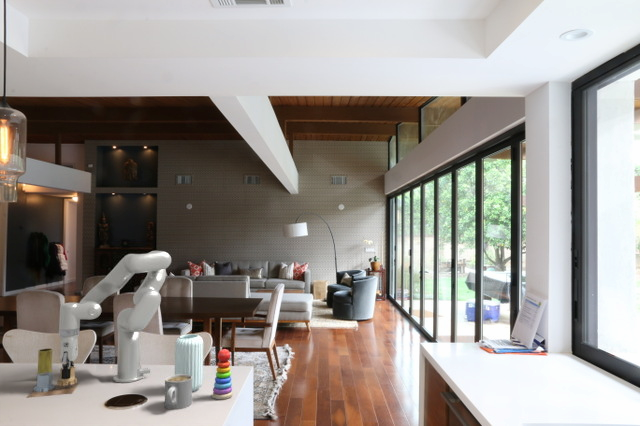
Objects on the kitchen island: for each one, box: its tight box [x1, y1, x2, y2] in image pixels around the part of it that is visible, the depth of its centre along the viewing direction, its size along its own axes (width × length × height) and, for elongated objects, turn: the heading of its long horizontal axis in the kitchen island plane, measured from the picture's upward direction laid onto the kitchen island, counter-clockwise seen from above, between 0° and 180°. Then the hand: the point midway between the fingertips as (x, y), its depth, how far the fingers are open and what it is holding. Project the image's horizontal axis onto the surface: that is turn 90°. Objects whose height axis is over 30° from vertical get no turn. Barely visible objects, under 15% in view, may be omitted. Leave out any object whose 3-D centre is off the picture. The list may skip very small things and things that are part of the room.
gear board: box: [26, 374, 80, 399], centre depth 184 cm, size 16×14×8 cm
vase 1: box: [37, 348, 53, 375], centre depth 198 cm, size 6×6×14 cm
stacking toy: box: [211, 348, 234, 400], centre depth 180 cm, size 8×8×19 cm
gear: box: [33, 372, 56, 392], centre depth 184 cm, size 7×7×6 cm
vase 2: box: [174, 333, 204, 393], centre depth 189 cm, size 12×12×22 cm
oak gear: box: [56, 366, 78, 386], centre depth 187 cm, size 7×7×6 cm
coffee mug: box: [164, 374, 193, 411], centre depth 170 cm, size 13×10×10 cm
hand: (67, 376), depth 187 cm, fingers closed on oak gear, 5 cm apart
